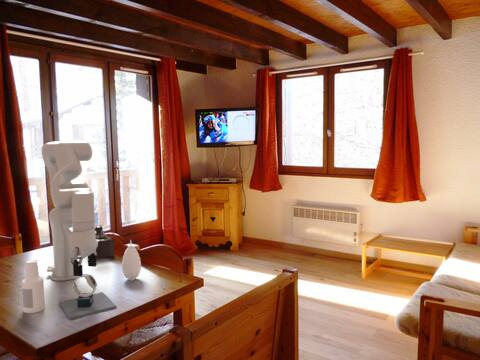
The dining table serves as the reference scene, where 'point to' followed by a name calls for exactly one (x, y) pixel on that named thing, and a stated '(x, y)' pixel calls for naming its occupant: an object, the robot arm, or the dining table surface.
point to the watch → (85, 298)
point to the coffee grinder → (103, 244)
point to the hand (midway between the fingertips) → (85, 270)
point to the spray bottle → (33, 289)
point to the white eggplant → (131, 263)
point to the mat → (98, 305)
